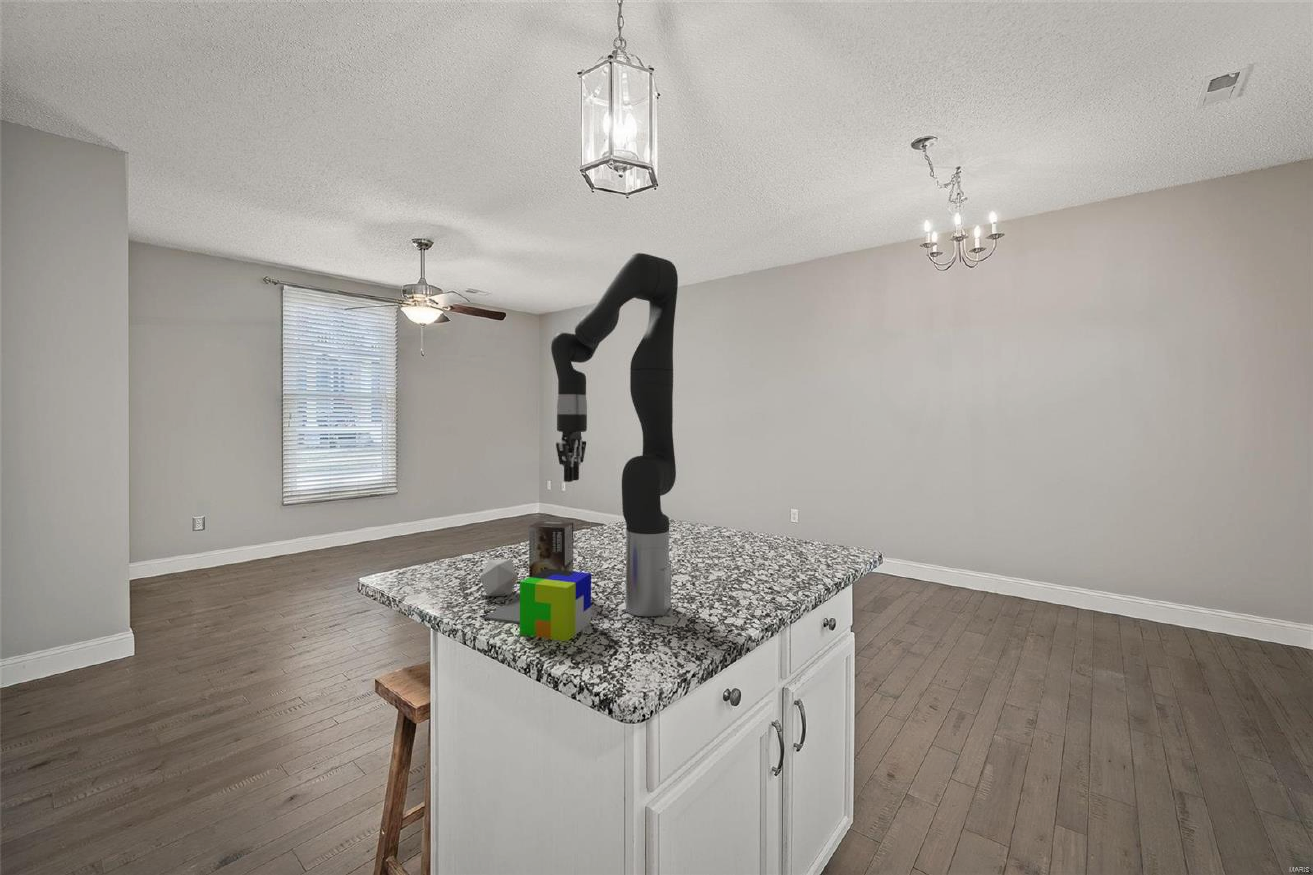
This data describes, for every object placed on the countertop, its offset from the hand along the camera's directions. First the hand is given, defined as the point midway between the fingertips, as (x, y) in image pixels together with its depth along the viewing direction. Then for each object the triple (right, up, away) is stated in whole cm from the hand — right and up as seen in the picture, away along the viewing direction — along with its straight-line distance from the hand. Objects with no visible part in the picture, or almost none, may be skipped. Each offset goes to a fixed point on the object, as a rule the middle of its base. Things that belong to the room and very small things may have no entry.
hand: (571, 480), depth 137 cm
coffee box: (-3, -26, -10) cm, 28 cm away
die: (-15, -26, -12) cm, 32 cm away
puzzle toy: (+2, -26, -32) cm, 42 cm away
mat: (-7, -26, -21) cm, 34 cm away
